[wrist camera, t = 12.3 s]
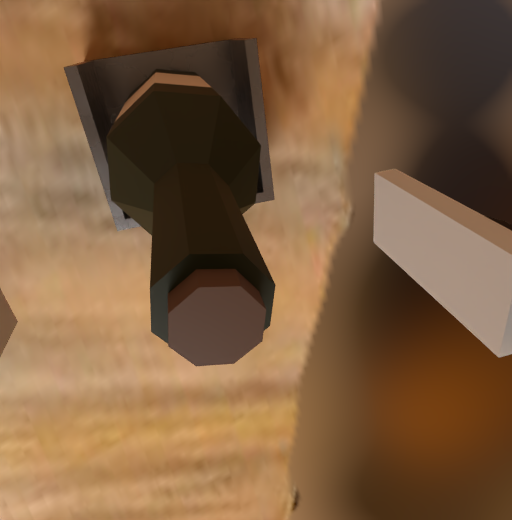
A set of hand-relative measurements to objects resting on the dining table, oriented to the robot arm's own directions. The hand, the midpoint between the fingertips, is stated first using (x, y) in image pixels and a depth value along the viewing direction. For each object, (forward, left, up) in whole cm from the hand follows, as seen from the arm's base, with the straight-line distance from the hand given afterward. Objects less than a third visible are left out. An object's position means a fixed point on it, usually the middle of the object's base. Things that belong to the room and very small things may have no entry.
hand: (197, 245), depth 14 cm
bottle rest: (0, 0, -26) cm, 26 cm away
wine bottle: (0, 0, -25) cm, 25 cm away
